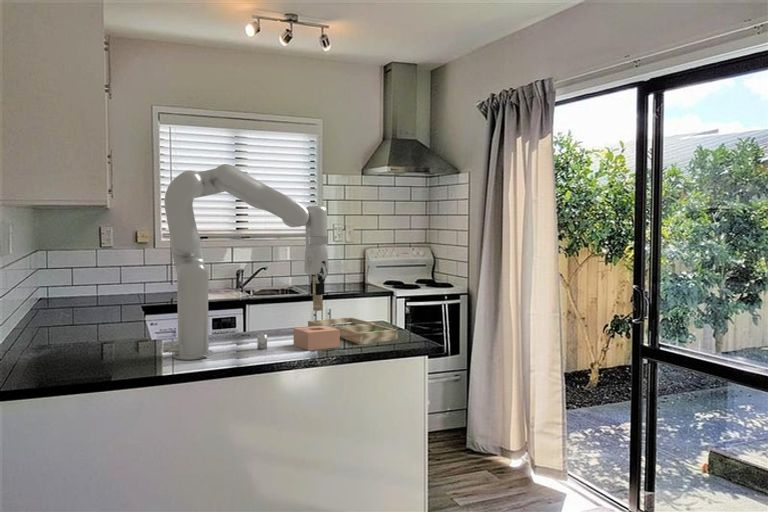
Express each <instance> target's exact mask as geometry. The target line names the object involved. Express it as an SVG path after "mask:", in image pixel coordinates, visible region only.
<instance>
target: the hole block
mask: <svg viewBox="0 0 768 512" xmlns="http://www.w3.org/2000/svg"><path fill="white" fill-rule="evenodd" d="M328 326H329V325H327V326H324V325H323V326H312V327H308V326H303V327H302V326H301V327H293V346H295V347H296V348H297V347H298V348H301V349H303V350H306V351H309V352H310V351H316V350H326V349H335V348H341V337H340V330H339V329H335V328H331V327H332V326H331V327H328Z"/></svg>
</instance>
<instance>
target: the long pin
mask: <svg viewBox="0 0 768 512" xmlns="http://www.w3.org/2000/svg"><path fill="white" fill-rule="evenodd" d="M319 277H320V276H319ZM315 284H316V275H315V276H313V294H312V305H313V306H312V307H313V308H312V310H313V311H315V312H317V311H323V295H316V291H315Z"/></svg>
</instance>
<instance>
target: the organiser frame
mask: <svg viewBox="0 0 768 512" xmlns="http://www.w3.org/2000/svg"><path fill="white" fill-rule="evenodd" d="M346 323H352V325H351V324H350V325H340V324H346ZM337 324H339V326H331V325H337ZM323 325H324V326H328V327H331V328H335V329H339V330H340V338H342V339H345V340H347V341H350V342H352V343H355V344H357V345H359V346H361V345H369V344H374V343H381V342H388V341H394V340H398V329H396V328H391V327H387V326H382V325H379V324H377V323H376V322H372V321H367V320H363V319H360V318H355V317H340V318H329V319H317V320H308V321H307V327H312V326H323ZM371 331H376V332H371Z"/></svg>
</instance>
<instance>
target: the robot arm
mask: <svg viewBox="0 0 768 512" xmlns="http://www.w3.org/2000/svg"><path fill="white" fill-rule="evenodd" d="M225 192H226V193H228V194H229V195H231V196H232V197H235V198H237V199H238V200H240V201H242V202H243V203H245V204H247V205H249V206H251V207H253V208H255V209H258V210H262V211H266V212H268V213H270V214H272V215H274V216H277V217H278V218H280V219H281V220H282V222H283V223H284V225H286V226H288V227H290V228H301V227H305V251H304V273H305V274H307V275H308V278H309V285H310V287H309V288H310V294H311V295H313V276H316V284H315V291H316V295H322V296H324V295H325V293H326V292H325V284H326V278H327V277H328V273H329V255H328V253H329V251H328V248H327V247H328V243H329V242H328V210H327V207H326V206H323V205H310V206H304V205H303V204H301V203H300V202H298V201H297V200H295V199H293V198H292V197H289V196H288V195H286V194H284V193H282V192H281V191H278V190H277V189H274V188H272V187H271V186H269V185H266V184H264V183H263V182H261V181H259V180H258V179H256V178H254V177H252V176H251V175H250V174H247V172H244V171H242V170H241V169H239V168H237V167H235V166H233V165H231V164H229V163H224V164H220V165H218V166H217V167H215V168H212V169H207V170H201V171H195V170H191V169H190V170H185V171H183V172H181V173H180V174H177V176H175V178H173V180H171V182H170V183H169V184H168V186H167V189H166V191H165V195H164V210H165V217H166V222H167V227H168V228H167V229H168V232H169V245H170V249H171V254H172V259H173V263H174V267H175V271H176V272H175V273H176V281H177V283H176V286H177V287H176V288H177V294H176V295H177V341H175V344H172V345H170V346H169V345H168V346H167V345H166V346H162V353H163V354H164V353H166V354H167V353H169V354H171V353H173V354H172V358H174V359H176V360H185V361H186V360H189V361H190V360H202V359H207V358H208V357H209V356H212V355H213V354H214V352H215V351H214V350H211V349H209V347H210V346H209V345H210V343H209V342H210V341H209V284H210V283H209V282H210V281H209V279H210V278H209V277H210V276H209V274H210V273H209V270H208V267H207V265H206V264H205V259H204V255H203V252H202V251H203V250H202V246H201V237H200V233H199V231H198V227H197V223H196V220H195V214H194V208H193V207H194V206H193V205H194V201H195V200H194V199H198V198H202V197H208V196H212V195H217V194H221V193H225ZM319 276H320V277H319Z"/></svg>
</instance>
